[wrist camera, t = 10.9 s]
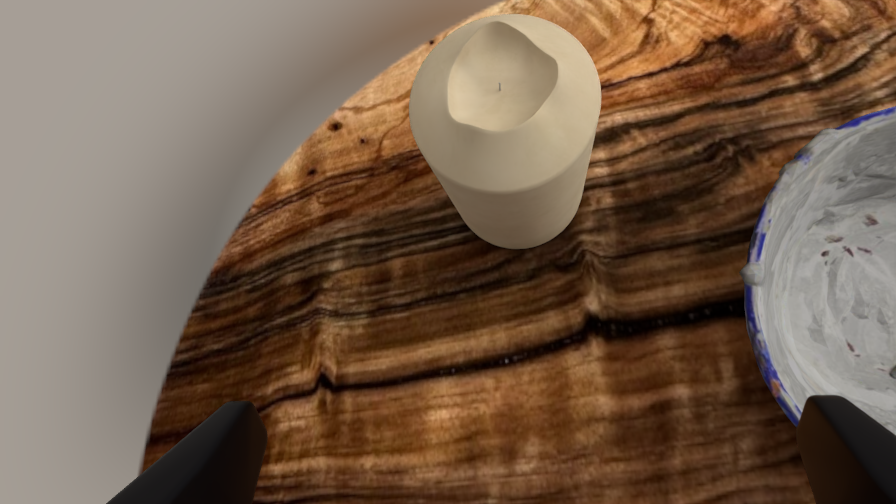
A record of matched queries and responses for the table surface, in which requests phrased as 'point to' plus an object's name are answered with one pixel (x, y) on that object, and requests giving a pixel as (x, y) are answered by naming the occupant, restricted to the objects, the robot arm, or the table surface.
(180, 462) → the robot arm
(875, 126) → the bowl
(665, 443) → the table surface
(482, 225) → the candle
